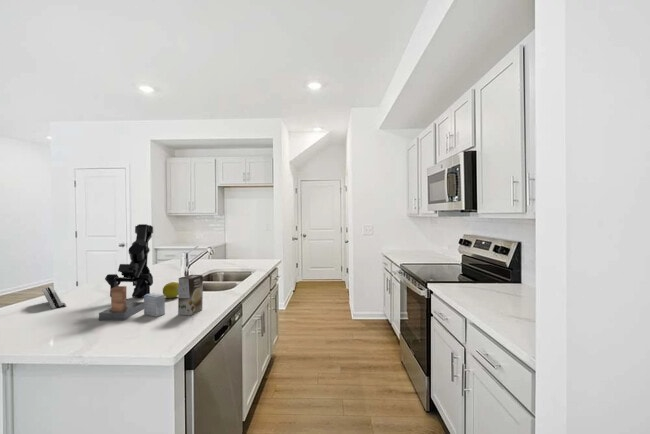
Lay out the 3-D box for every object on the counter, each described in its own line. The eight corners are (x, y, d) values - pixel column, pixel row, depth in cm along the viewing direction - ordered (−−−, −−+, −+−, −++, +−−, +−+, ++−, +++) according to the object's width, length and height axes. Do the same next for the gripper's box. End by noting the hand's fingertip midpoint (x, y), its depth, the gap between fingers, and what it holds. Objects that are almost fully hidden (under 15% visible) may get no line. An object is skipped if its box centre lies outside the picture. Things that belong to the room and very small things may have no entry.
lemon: (167, 301, 160) (167, 285, 160) (158, 298, 164) (158, 283, 164) (186, 296, 169) (186, 281, 169) (177, 294, 173) (177, 279, 173)
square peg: (116, 315, 137) (116, 286, 137) (126, 314, 137) (126, 286, 137) (111, 318, 133) (111, 288, 133) (120, 318, 133) (121, 288, 133)
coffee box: (190, 315, 137) (190, 278, 137) (177, 314, 138) (177, 278, 138) (203, 309, 146) (203, 274, 146) (190, 308, 147) (190, 274, 147)
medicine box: (165, 314, 139) (165, 294, 139) (155, 317, 135) (156, 297, 135) (152, 311, 142) (153, 292, 142) (143, 314, 138) (143, 294, 138)
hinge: (66, 306, 148) (57, 287, 146) (54, 312, 145) (44, 293, 143) (61, 299, 160) (52, 282, 157) (49, 304, 157) (40, 286, 154)
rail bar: (121, 308, 146) (121, 302, 146) (144, 308, 147) (144, 302, 147) (98, 320, 130) (98, 313, 130) (124, 320, 131) (124, 312, 131)
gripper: (107, 256, 142) (90, 286, 131) (150, 256, 143) (136, 286, 132) (118, 270, 150) (102, 300, 139) (158, 270, 151) (146, 300, 140)
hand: (121, 296), depth 138 cm, fingers open, 9 cm apart
